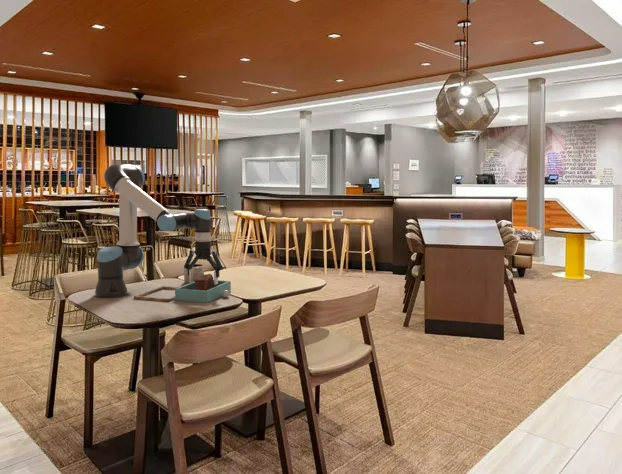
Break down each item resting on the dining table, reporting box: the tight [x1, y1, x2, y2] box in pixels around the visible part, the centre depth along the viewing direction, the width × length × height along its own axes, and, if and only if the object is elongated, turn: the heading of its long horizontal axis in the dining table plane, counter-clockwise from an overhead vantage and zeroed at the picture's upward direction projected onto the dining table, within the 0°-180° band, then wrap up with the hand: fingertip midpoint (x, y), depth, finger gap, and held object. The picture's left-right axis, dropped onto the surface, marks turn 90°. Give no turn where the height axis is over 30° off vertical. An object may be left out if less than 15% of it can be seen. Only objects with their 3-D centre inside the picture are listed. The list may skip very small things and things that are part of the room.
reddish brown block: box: [194, 273, 214, 291], centre depth 263 cm, size 18×6×9 cm, turn 178°
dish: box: [174, 279, 232, 303], centre depth 262 cm, size 17×25×5 cm
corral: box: [133, 285, 180, 303], centre depth 264 cm, size 19×25×1 cm
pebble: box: [222, 290, 231, 298], centre depth 259 cm, size 4×4×4 cm
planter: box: [183, 263, 205, 285], centre depth 294 cm, size 11×11×10 cm
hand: (203, 283), depth 262 cm, fingers open, 13 cm apart
